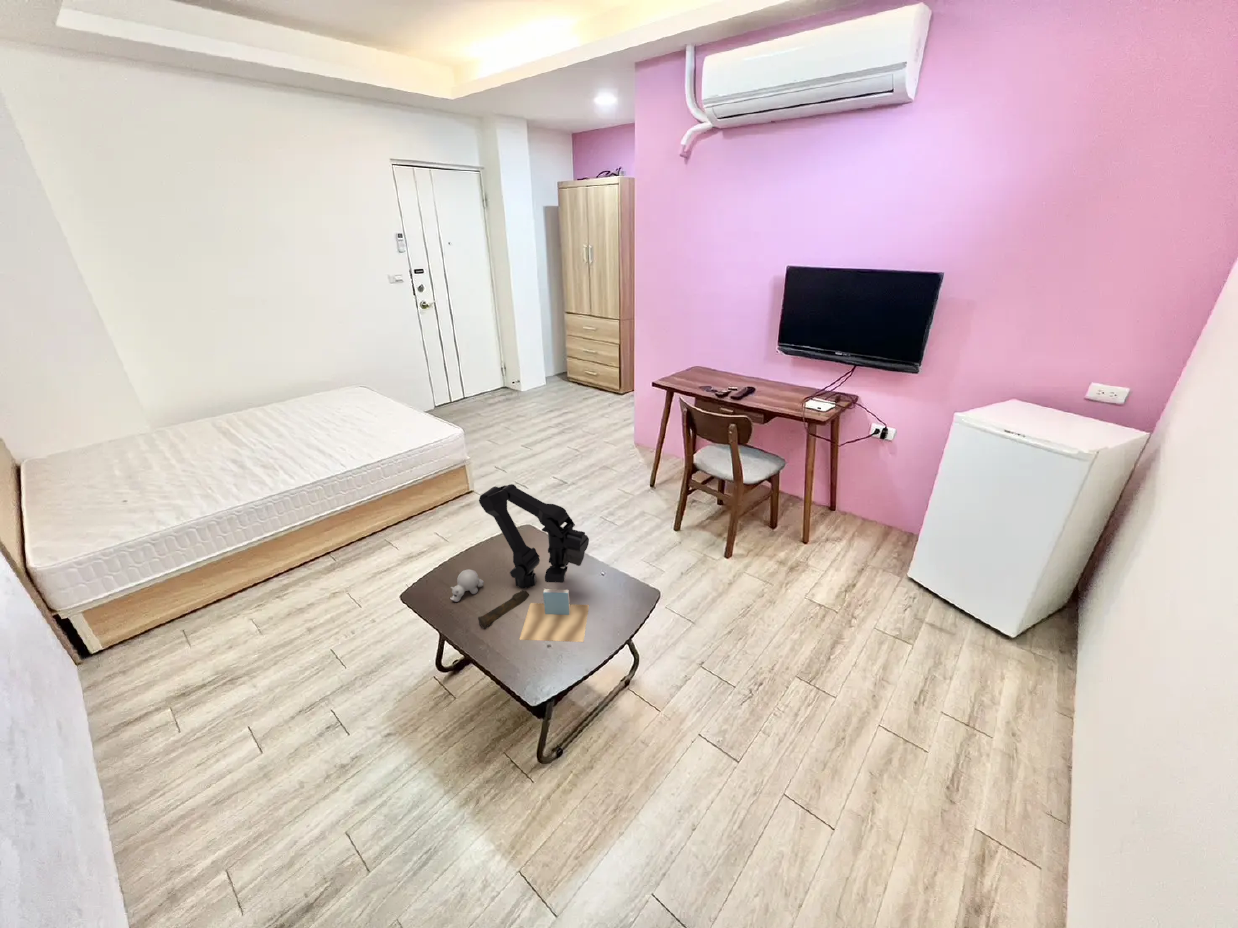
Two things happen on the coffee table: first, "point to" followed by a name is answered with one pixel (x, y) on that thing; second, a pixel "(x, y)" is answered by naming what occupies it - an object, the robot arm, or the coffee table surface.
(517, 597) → the hand tool
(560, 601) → the tile
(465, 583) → the chubby cartoon animal
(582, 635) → the board
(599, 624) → the coffee table surface
